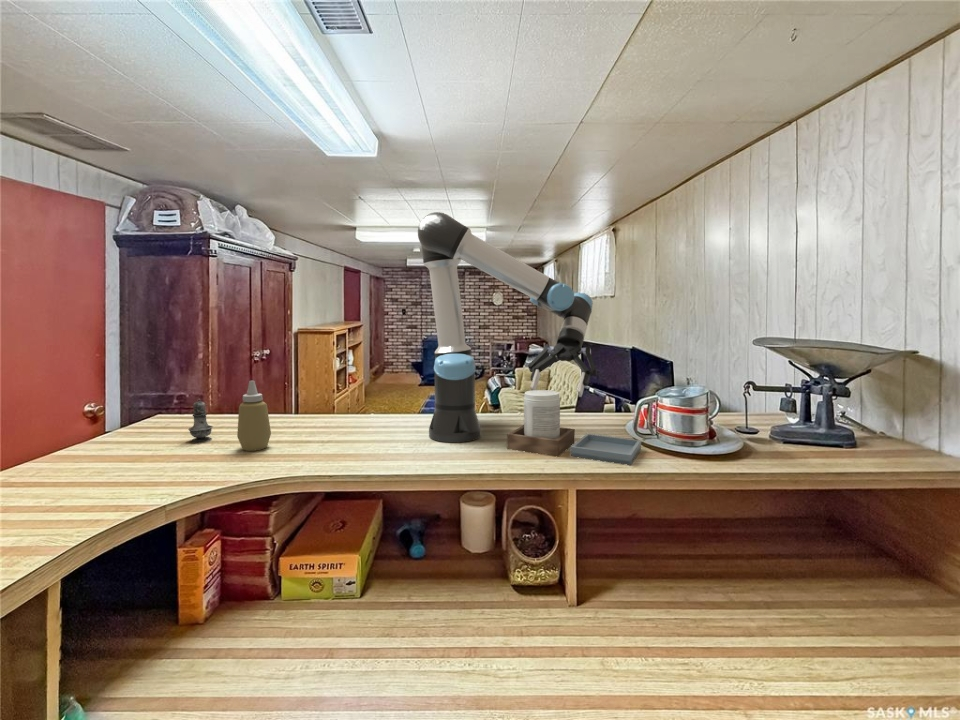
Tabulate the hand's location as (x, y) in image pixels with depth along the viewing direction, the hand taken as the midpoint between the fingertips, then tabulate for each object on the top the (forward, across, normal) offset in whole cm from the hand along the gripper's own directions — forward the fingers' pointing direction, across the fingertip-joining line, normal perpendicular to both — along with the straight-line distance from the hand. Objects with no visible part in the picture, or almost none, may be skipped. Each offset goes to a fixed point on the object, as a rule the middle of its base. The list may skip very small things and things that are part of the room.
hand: (555, 392), depth 133 cm
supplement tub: (+15, +1, -5) cm, 16 cm away
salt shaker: (+42, +88, +23) cm, 100 cm away
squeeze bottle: (+41, +68, +22) cm, 82 cm away
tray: (+14, -16, -6) cm, 22 cm away
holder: (+15, +1, -4) cm, 16 cm away
